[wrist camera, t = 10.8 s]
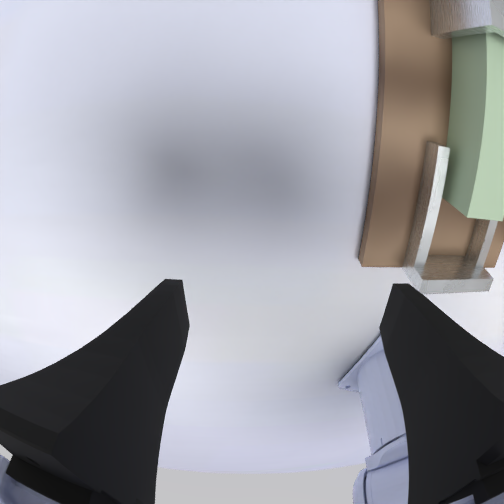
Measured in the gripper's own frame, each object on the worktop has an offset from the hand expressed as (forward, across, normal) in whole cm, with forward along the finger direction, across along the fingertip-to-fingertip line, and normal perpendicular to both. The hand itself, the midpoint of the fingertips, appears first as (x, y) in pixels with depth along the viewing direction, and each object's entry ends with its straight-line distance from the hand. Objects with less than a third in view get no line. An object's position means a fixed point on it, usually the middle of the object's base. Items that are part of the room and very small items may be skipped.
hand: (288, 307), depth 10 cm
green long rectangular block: (+8, -11, -8) cm, 16 cm away
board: (+9, -11, -7) cm, 17 cm away
